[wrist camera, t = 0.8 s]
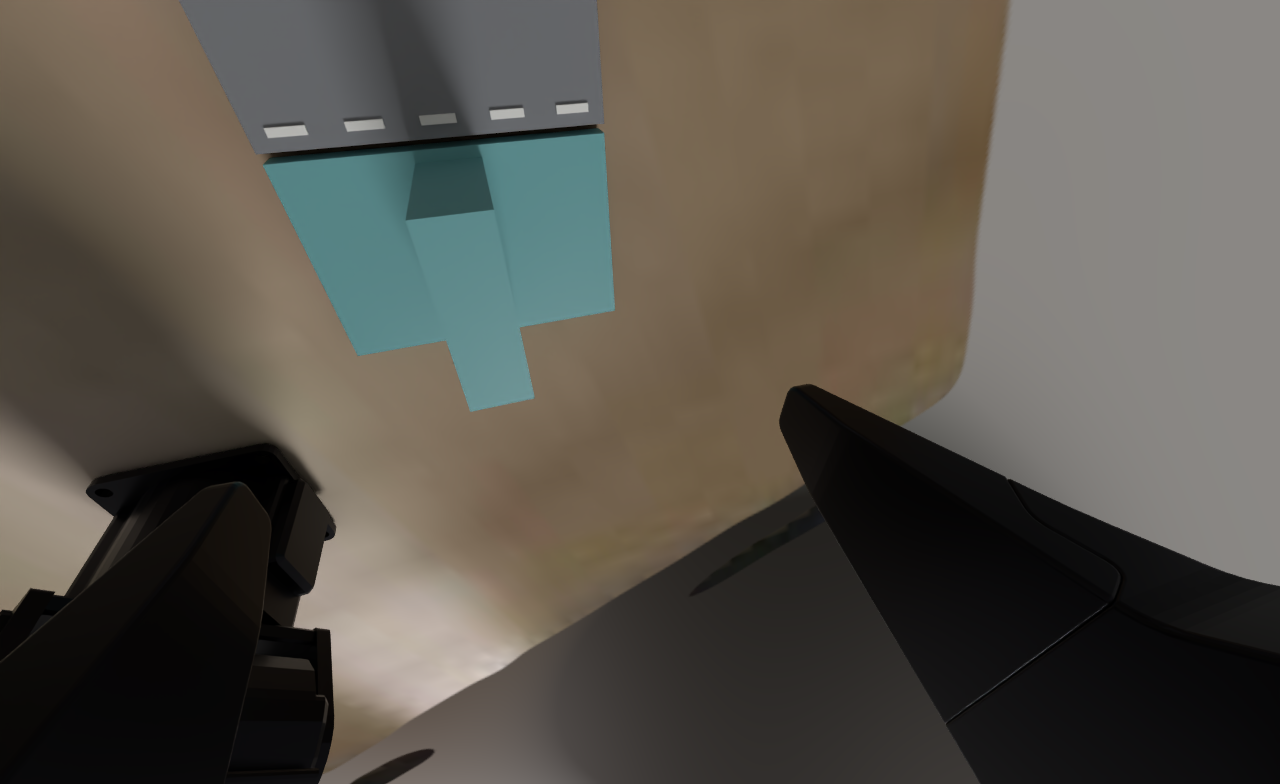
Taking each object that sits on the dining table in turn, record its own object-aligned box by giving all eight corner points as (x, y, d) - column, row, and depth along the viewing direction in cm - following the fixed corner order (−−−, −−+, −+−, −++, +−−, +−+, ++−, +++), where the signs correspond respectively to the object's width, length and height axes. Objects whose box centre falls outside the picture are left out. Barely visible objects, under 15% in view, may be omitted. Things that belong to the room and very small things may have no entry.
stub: (360, 344, 18) (335, 449, 14) (270, 157, 14) (194, 229, 10) (609, 301, 21) (652, 381, 16) (598, 127, 16) (652, 175, 12)
